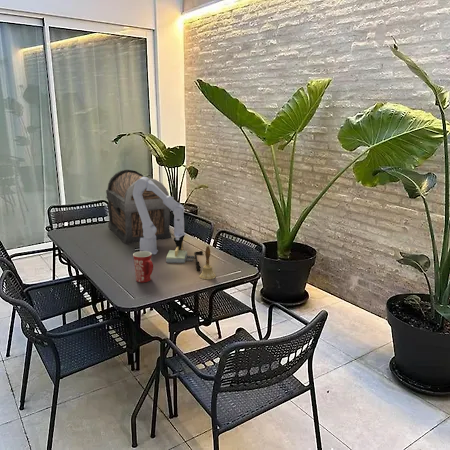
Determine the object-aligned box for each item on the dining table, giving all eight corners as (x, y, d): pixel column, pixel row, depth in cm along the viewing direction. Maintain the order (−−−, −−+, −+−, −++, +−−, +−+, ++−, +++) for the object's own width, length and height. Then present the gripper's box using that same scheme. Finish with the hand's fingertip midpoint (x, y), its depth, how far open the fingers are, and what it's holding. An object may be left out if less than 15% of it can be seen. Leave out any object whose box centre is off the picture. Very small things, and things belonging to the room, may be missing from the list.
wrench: (203, 256, 244) (205, 272, 215) (194, 257, 244) (196, 273, 215) (202, 248, 243) (205, 262, 214) (193, 249, 243) (195, 263, 214)
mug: (130, 279, 205) (129, 253, 202) (146, 274, 211) (146, 249, 207) (143, 287, 196) (142, 260, 192) (159, 282, 202) (159, 256, 198)
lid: (166, 258, 228) (166, 252, 227) (169, 251, 239) (169, 245, 238) (184, 259, 227) (184, 252, 226) (187, 251, 239) (187, 245, 238)
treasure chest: (107, 226, 295) (104, 170, 284) (150, 221, 310) (148, 168, 299) (125, 244, 257) (122, 180, 247) (173, 238, 272) (172, 177, 262)
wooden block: (176, 253, 242) (176, 242, 240) (177, 251, 245) (177, 240, 243) (182, 253, 242) (182, 242, 240) (183, 251, 245) (183, 240, 243)
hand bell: (197, 274, 213) (197, 244, 209) (213, 272, 215) (213, 243, 211) (201, 280, 205) (201, 249, 201) (217, 279, 208) (218, 248, 203)
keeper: (185, 261, 231) (185, 259, 231) (187, 257, 237) (187, 255, 236) (193, 261, 231) (193, 259, 231) (194, 257, 237) (194, 255, 236)
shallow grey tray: (166, 262, 228) (166, 258, 228) (169, 255, 240) (169, 251, 239) (184, 263, 228) (184, 259, 228) (187, 255, 240) (187, 252, 239)
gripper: (184, 229, 232) (184, 252, 236) (187, 222, 246) (187, 244, 250) (171, 229, 232) (172, 252, 236) (175, 222, 246) (175, 244, 250)
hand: (179, 248), depth 243 cm, fingers closed on wooden block, 3 cm apart
